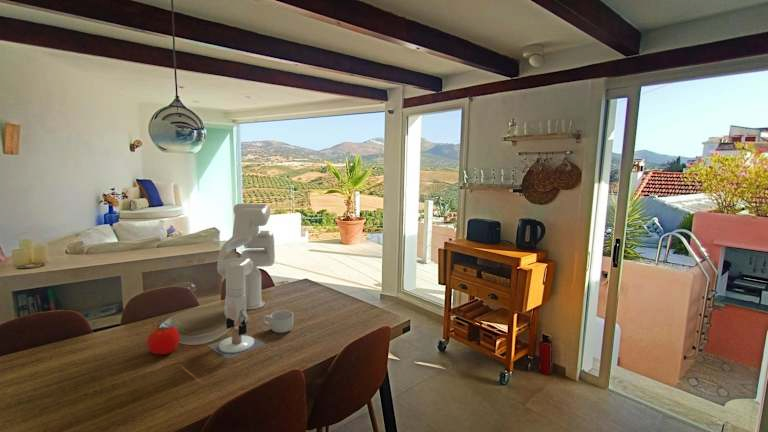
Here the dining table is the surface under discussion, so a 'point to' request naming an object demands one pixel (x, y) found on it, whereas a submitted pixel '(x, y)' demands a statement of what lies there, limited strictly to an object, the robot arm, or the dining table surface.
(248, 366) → the dining table surface
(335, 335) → the dining table surface
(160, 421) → the dining table surface
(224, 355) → the mat
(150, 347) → the tomato
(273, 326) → the teacup
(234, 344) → the lid
